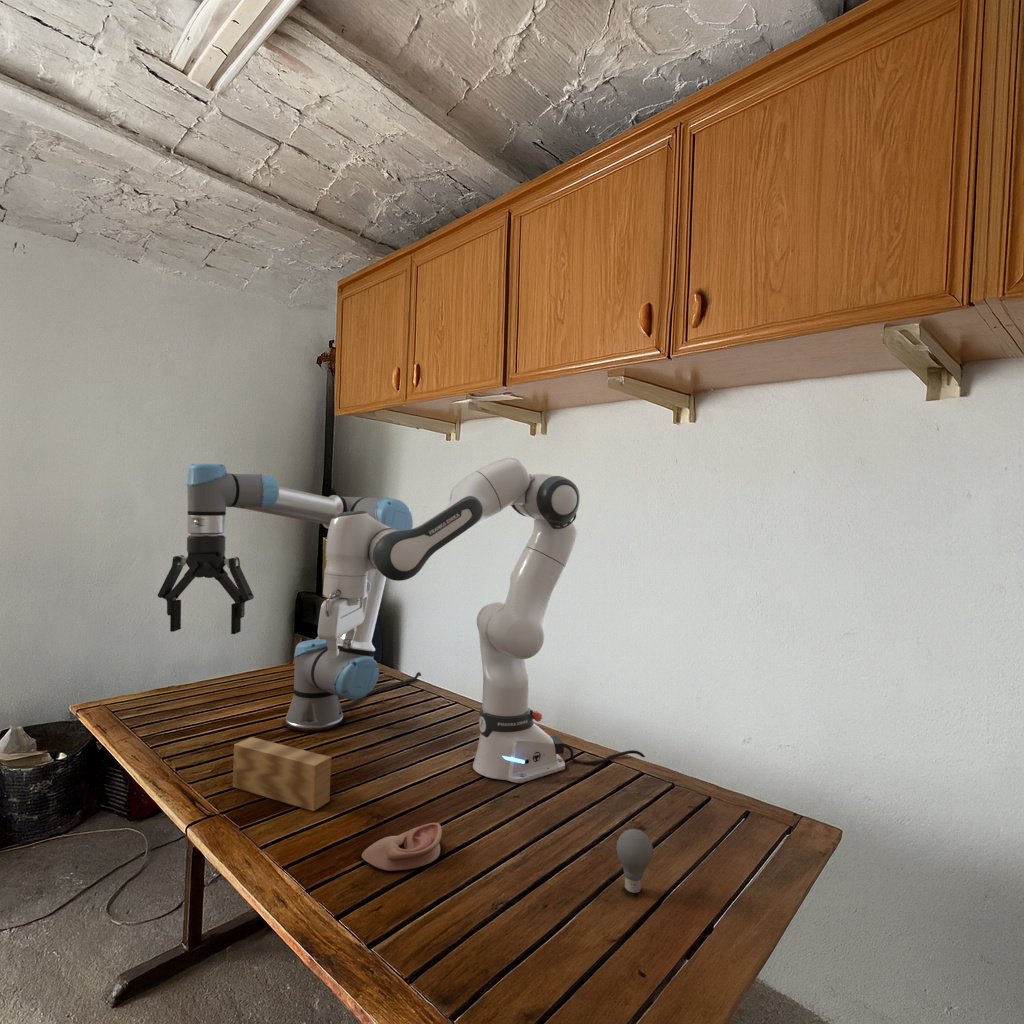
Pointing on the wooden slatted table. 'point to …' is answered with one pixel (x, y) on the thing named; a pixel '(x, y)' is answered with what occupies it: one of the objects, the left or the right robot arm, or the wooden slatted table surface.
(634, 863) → the light bulb
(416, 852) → the anatomical model
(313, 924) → the wooden slatted table surface
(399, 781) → the wooden slatted table surface
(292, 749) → the bar
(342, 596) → the right robot arm
